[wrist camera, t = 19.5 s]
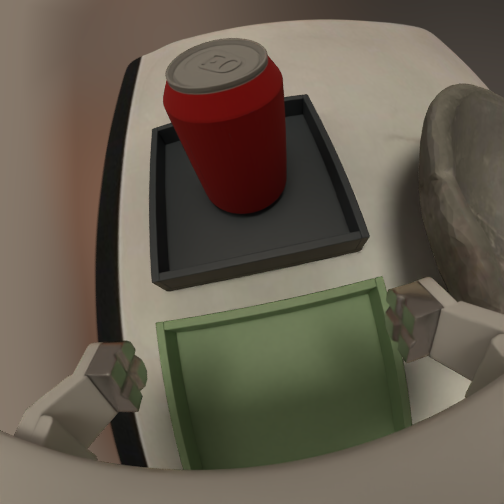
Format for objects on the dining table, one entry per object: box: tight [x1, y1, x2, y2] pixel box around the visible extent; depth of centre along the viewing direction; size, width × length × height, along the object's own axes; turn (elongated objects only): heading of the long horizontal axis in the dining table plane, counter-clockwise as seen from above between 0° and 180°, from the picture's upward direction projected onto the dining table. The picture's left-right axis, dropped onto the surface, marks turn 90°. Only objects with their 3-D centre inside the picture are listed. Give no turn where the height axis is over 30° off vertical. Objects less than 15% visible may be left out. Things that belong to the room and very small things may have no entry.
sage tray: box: [156, 276, 412, 470], centre depth 16 cm, size 15×15×3 cm
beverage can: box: [163, 38, 287, 214], centre depth 17 cm, size 7×7×12 cm
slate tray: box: [149, 94, 370, 291], centre depth 22 cm, size 15×15×3 cm
